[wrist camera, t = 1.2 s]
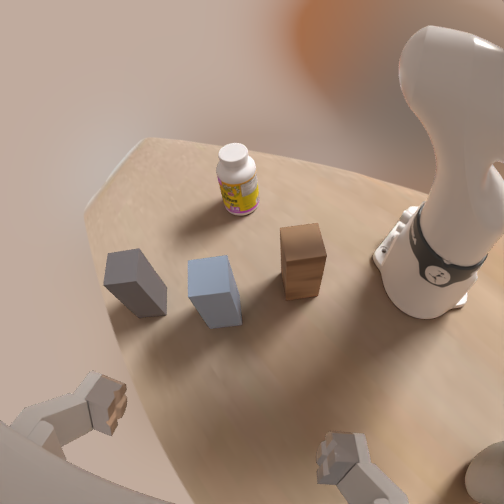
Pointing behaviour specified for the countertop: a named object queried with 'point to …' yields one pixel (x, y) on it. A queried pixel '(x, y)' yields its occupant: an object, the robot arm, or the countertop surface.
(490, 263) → the countertop surface
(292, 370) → the countertop surface
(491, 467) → the grey-green tall rounded cylinder
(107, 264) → the charcoal block
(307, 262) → the walnut block
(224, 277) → the slate-blue block
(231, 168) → the supplement bottle
